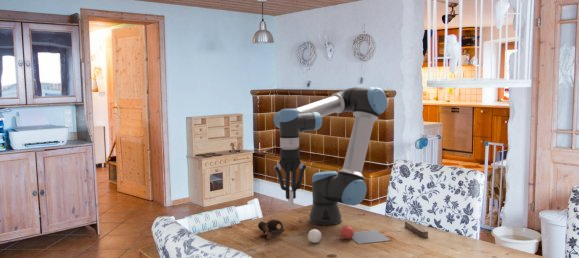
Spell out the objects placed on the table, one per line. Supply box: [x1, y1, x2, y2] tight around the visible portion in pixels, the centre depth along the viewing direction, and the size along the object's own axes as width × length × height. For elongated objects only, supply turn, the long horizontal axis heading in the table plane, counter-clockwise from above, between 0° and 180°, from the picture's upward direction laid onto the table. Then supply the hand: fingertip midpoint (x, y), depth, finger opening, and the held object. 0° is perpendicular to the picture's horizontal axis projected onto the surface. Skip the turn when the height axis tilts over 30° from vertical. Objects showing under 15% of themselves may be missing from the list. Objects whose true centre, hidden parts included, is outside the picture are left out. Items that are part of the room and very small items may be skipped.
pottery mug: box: [257, 219, 285, 241], centre depth 202 cm, size 12×9×8 cm
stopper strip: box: [404, 220, 429, 239], centre depth 203 cm, size 2×16×2 cm, turn 13°
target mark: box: [351, 229, 391, 245], centre depth 199 cm, size 14×14×1 cm
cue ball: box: [307, 228, 322, 244], centre depth 193 cm, size 6×6×6 cm
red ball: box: [340, 225, 355, 240], centre depth 196 cm, size 6×6×6 cm
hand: (290, 206), depth 190 cm, fingers closed
